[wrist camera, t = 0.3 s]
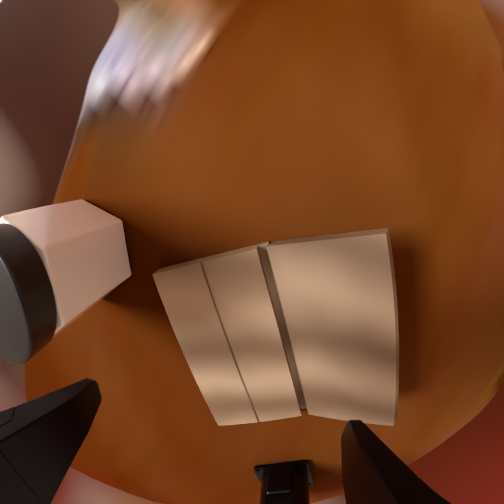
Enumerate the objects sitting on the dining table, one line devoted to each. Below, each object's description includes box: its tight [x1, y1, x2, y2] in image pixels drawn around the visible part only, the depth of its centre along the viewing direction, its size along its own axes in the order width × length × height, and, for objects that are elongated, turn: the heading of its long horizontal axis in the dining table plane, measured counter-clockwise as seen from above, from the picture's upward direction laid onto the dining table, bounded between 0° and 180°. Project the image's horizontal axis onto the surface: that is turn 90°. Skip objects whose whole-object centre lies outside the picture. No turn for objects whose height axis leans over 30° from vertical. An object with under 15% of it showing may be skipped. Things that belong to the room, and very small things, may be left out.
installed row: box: [152, 241, 307, 426], centre depth 22 cm, size 16×9×1 cm, turn 15°
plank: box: [266, 228, 399, 426], centre depth 19 cm, size 16×8×1 cm, turn 16°
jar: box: [0, 199, 131, 364], centre depth 16 cm, size 9×8×12 cm
